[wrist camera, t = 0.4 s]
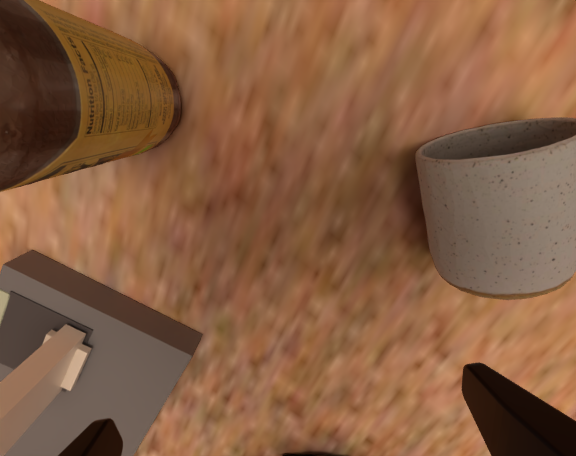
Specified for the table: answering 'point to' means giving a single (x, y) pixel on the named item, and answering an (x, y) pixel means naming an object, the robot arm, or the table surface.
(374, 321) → the table surface
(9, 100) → the sauce bottle
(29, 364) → the ivory paddle
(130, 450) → the switch panel
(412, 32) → the table surface
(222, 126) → the table surface
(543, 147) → the ceramic mug
